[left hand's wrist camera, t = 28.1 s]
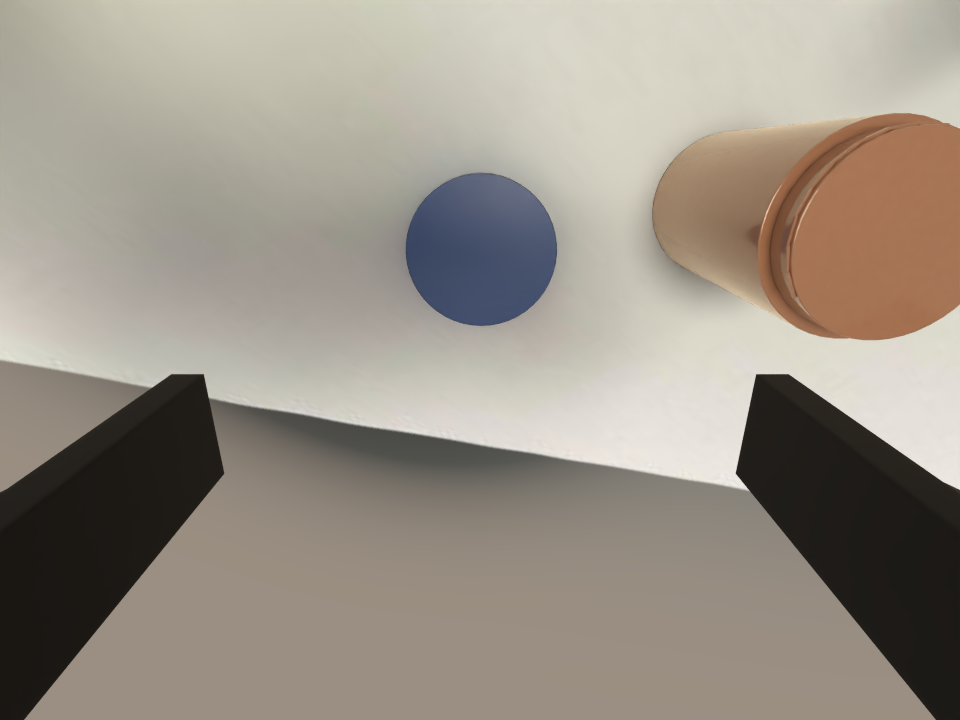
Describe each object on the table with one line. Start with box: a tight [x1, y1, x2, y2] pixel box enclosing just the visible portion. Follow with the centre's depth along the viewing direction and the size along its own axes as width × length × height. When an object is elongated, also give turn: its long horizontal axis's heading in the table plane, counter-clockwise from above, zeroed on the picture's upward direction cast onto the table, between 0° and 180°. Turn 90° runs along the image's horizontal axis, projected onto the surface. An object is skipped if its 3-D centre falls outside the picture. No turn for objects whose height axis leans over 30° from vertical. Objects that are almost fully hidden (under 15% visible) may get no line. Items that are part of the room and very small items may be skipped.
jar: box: [653, 113, 960, 340], centre depth 29 cm, size 10×10×17 cm
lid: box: [406, 173, 557, 326], centre depth 37 cm, size 11×11×2 cm
